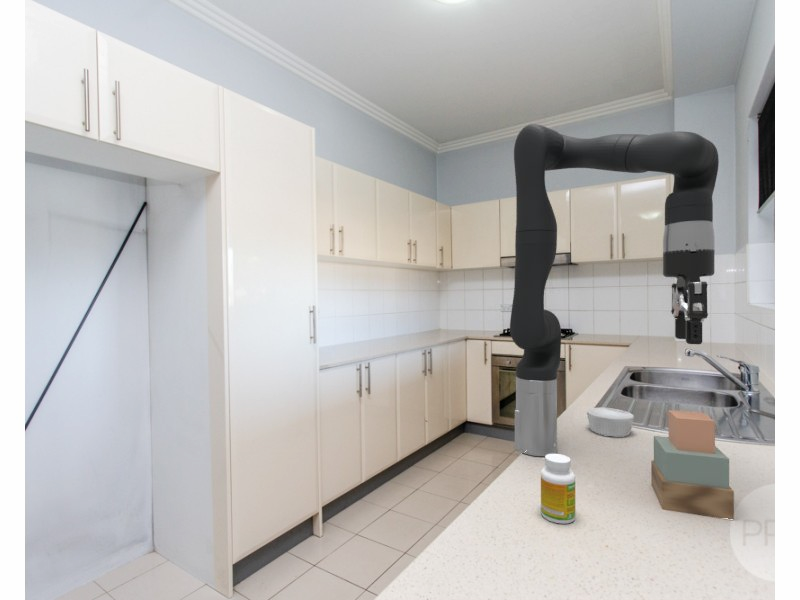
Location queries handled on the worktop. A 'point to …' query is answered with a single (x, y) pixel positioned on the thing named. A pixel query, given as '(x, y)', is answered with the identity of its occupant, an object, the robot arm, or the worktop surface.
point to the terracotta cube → (692, 431)
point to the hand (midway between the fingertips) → (687, 341)
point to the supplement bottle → (558, 489)
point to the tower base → (692, 497)
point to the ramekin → (610, 421)
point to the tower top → (691, 465)
